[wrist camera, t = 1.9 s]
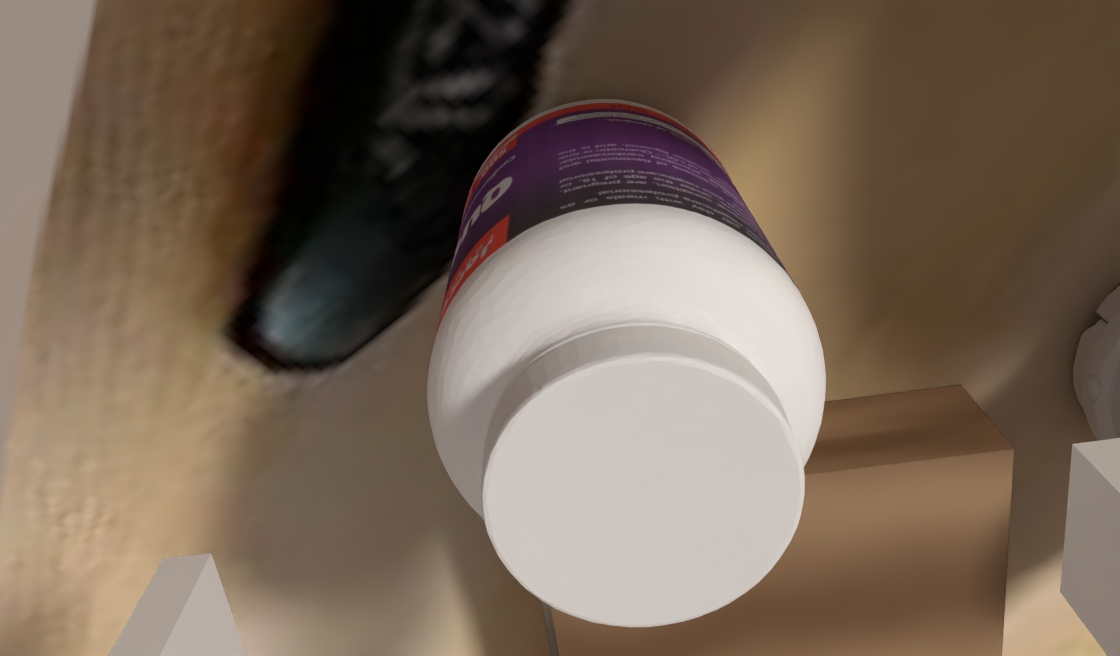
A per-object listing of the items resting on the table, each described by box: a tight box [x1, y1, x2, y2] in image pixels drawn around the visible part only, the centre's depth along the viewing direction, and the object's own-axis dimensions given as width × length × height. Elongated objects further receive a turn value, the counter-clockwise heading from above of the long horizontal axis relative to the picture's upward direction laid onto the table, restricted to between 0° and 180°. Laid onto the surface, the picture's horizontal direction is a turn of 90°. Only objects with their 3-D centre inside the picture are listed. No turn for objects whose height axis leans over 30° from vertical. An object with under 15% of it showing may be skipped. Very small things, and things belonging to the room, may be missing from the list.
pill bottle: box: [427, 99, 826, 627], centre depth 23 cm, size 8×8×14 cm
